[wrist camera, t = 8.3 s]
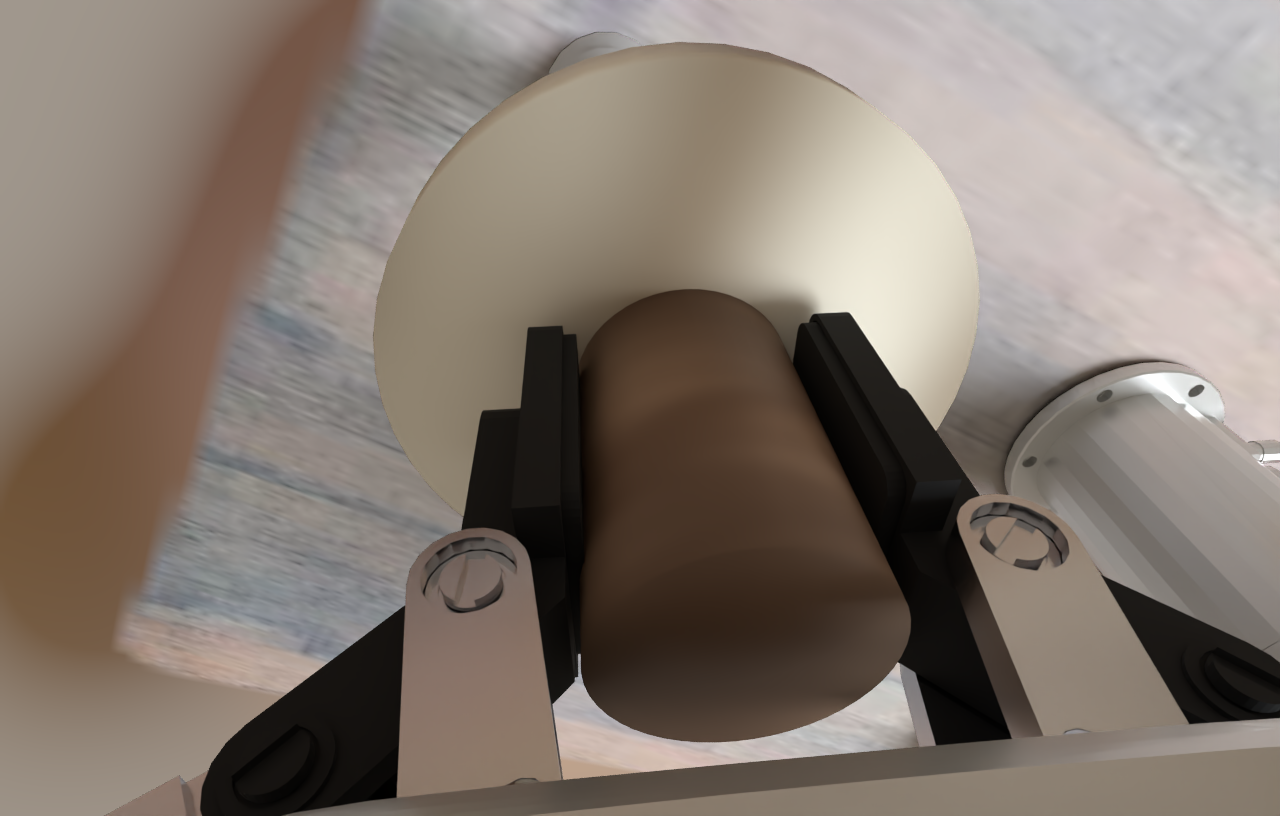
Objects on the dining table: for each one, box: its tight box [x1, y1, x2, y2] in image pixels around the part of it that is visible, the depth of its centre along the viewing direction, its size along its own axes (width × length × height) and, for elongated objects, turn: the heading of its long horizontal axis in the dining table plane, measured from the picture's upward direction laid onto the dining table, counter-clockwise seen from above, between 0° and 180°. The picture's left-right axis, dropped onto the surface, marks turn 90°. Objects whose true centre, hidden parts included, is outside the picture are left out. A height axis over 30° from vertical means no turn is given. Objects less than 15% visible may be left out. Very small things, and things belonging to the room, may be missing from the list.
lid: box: [373, 42, 980, 742], centre depth 10 cm, size 10×10×6 cm
